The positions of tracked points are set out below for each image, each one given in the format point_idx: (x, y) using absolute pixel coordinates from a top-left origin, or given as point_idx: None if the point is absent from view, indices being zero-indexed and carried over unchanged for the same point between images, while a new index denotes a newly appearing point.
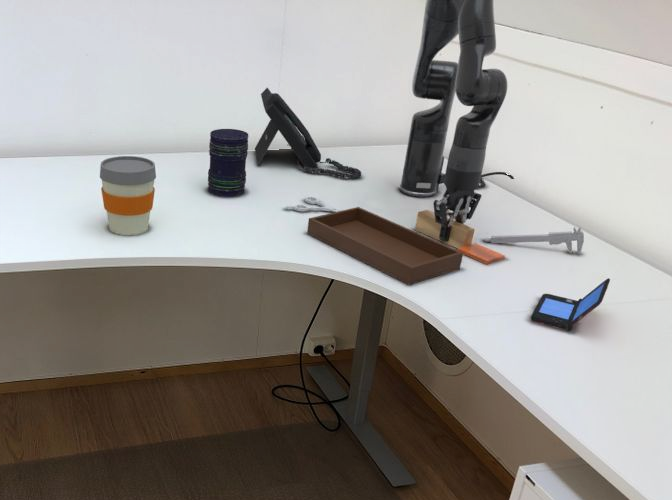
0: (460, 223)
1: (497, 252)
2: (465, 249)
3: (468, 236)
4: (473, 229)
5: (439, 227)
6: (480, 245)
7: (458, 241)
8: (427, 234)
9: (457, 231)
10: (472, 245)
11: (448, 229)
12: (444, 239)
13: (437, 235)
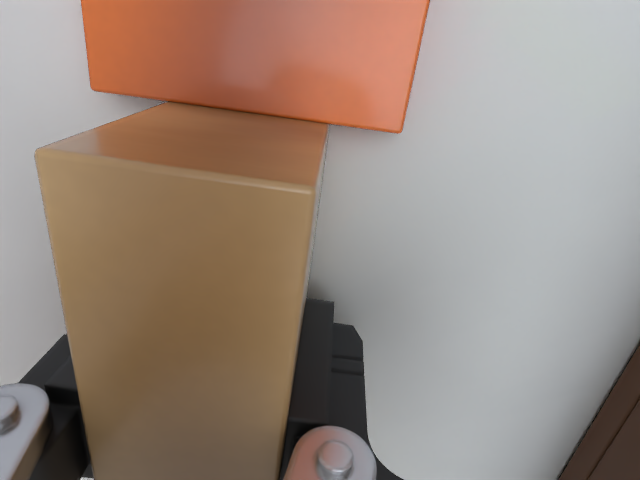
0: (95, 404)
1: None
2: (365, 53)
3: (224, 141)
4: (78, 155)
5: None
6: (88, 4)
7: (318, 203)
8: None
9: (303, 305)
10: (183, 72)
11: (325, 402)
12: (350, 327)
13: None
